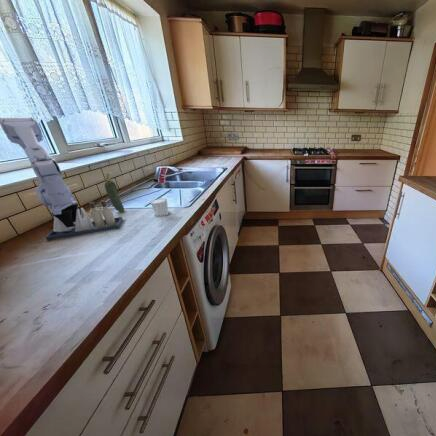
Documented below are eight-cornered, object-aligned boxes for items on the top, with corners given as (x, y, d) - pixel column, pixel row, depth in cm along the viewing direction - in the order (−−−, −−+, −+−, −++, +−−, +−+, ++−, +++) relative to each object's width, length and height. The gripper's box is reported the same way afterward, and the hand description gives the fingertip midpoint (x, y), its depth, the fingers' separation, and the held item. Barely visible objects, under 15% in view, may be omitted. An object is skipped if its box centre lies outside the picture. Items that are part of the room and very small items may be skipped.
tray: (57, 231, 95) (55, 227, 94) (123, 220, 104) (121, 216, 103) (47, 241, 88) (45, 237, 87) (119, 229, 97) (118, 225, 96)
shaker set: (55, 235, 91) (41, 210, 86) (61, 231, 94) (48, 206, 89) (90, 231, 94) (80, 206, 89) (95, 226, 97) (85, 203, 93)
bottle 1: (97, 226, 98) (87, 201, 93) (106, 224, 99) (97, 200, 94) (95, 229, 95) (85, 204, 90) (105, 227, 97) (95, 203, 92)
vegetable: (119, 214, 110) (104, 174, 101) (112, 214, 111) (96, 173, 102) (127, 211, 114) (113, 171, 105) (120, 210, 114) (106, 171, 106)
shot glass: (165, 217, 107) (161, 203, 104) (151, 217, 107) (147, 203, 104) (172, 211, 113) (169, 198, 110) (159, 211, 114) (155, 198, 111)
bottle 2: (108, 224, 99) (98, 200, 94) (117, 223, 101) (108, 199, 96) (106, 227, 97) (96, 202, 92) (115, 226, 98) (106, 201, 93)
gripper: (63, 196, 82) (79, 229, 88) (77, 185, 94) (90, 215, 100) (37, 199, 80) (55, 233, 85) (55, 188, 91) (69, 218, 97)
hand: (72, 224), depth 93 cm, fingers closed on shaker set, 4 cm apart
